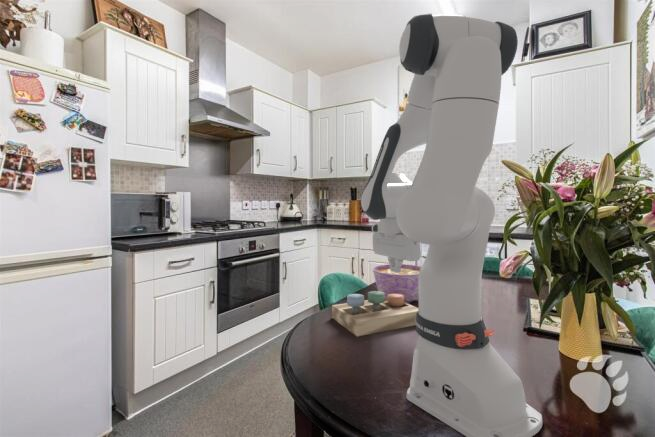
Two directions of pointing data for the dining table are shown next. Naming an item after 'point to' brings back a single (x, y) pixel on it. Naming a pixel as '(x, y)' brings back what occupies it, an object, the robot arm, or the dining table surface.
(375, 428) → the dining table surface
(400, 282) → the bowl of food
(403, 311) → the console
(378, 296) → the button green
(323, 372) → the dining table surface
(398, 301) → the button terracotta
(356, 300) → the button slate
